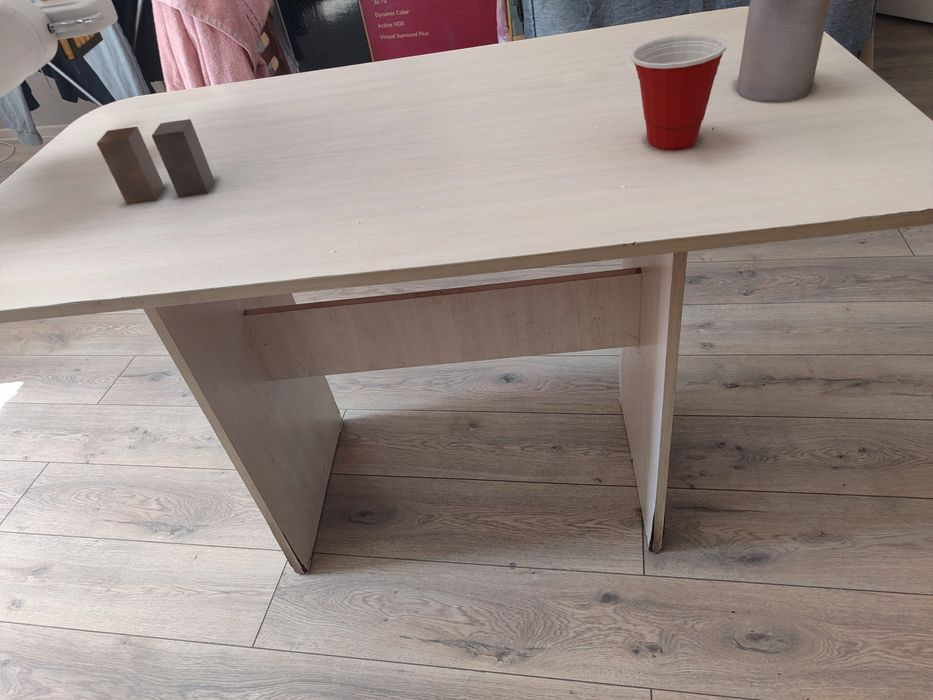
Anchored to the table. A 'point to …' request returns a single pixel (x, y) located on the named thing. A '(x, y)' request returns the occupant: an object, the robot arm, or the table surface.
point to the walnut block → (131, 165)
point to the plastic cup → (676, 86)
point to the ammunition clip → (78, 45)
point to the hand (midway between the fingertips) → (57, 6)
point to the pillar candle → (781, 48)
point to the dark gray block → (183, 158)
